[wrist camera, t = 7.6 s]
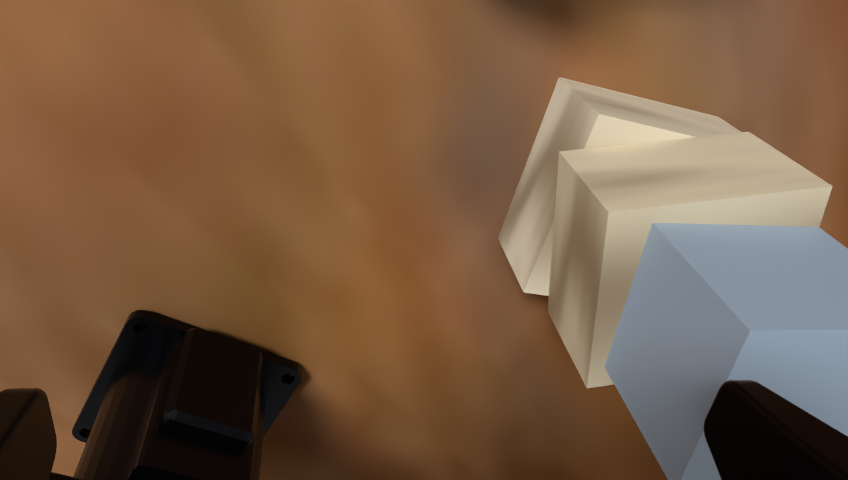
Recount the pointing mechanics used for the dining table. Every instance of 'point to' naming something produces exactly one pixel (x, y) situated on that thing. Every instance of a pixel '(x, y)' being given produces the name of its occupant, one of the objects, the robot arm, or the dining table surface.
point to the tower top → (655, 220)
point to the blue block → (730, 330)
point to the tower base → (571, 130)
